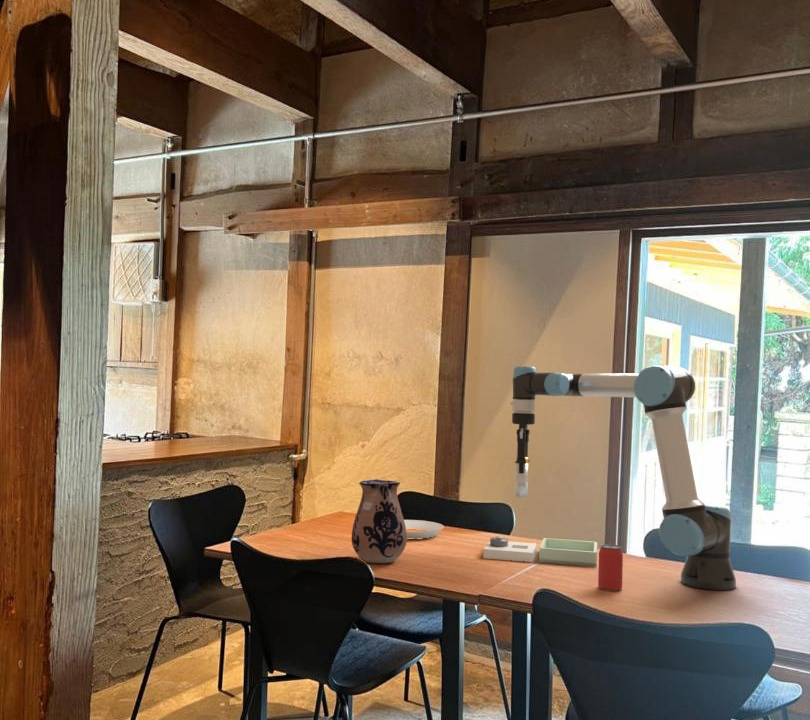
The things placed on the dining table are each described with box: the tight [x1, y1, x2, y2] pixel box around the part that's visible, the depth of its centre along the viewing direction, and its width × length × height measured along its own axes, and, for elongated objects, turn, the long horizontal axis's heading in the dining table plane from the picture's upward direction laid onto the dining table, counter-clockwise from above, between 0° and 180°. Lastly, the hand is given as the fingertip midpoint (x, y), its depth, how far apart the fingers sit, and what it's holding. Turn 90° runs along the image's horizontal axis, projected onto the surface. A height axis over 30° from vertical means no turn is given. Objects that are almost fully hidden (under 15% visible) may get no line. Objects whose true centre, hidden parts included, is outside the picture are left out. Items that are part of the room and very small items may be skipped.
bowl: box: [404, 519, 444, 539], centre depth 296 cm, size 25×25×4 cm
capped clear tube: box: [515, 456, 529, 498], centre depth 265 cm, size 4×4×13 cm
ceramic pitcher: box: [351, 478, 408, 564], centre depth 253 cm, size 18×21×25 cm
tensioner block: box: [482, 535, 538, 563], centre depth 265 cm, size 16×16×6 cm
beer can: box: [597, 543, 624, 592], centre depth 224 cm, size 7×7×12 cm
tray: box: [538, 537, 598, 567], centre depth 262 cm, size 18×18×4 cm
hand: (521, 482), depth 265 cm, fingers closed on capped clear tube, 4 cm apart
